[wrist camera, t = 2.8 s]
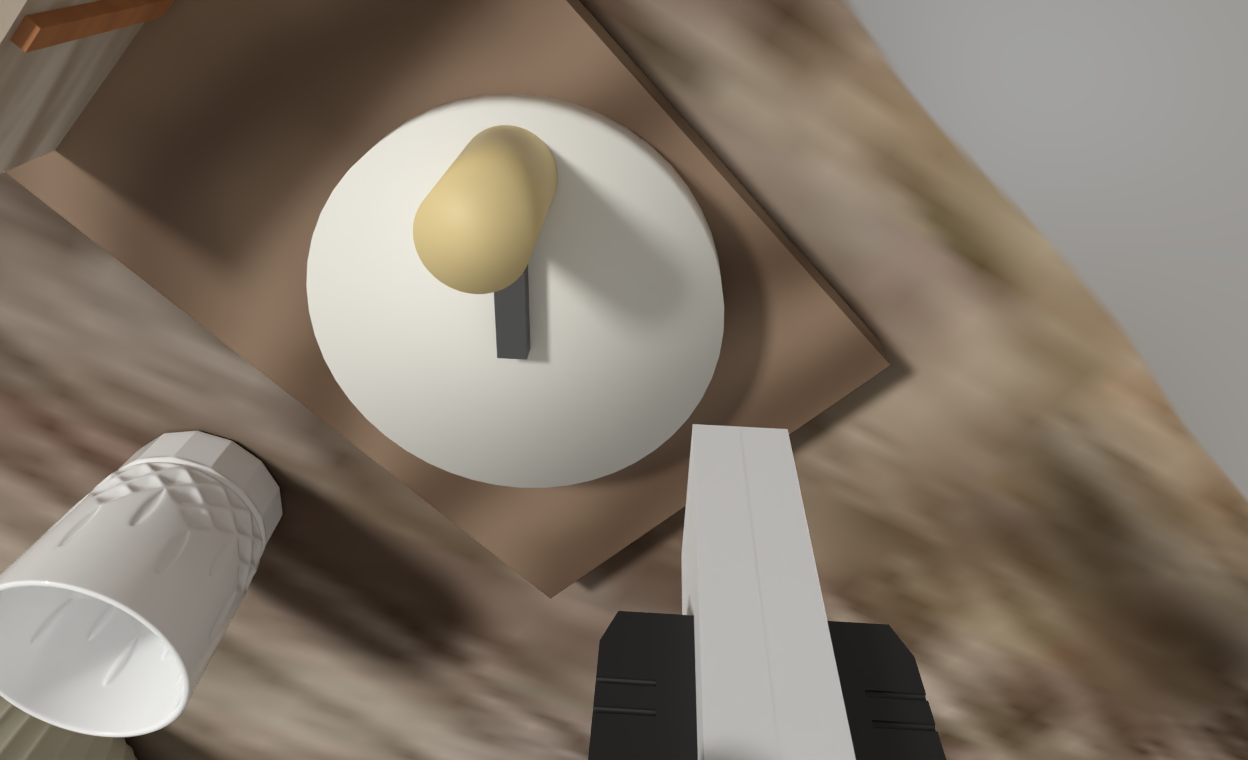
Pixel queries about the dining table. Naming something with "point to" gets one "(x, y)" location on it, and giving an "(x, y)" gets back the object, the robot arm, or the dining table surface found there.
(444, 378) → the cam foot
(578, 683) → the dining table surface
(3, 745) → the canister
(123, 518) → the white cup
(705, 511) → the robot arm
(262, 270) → the stand
